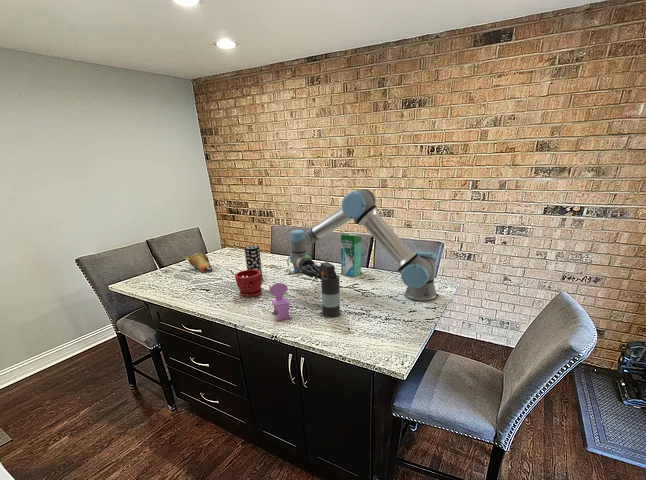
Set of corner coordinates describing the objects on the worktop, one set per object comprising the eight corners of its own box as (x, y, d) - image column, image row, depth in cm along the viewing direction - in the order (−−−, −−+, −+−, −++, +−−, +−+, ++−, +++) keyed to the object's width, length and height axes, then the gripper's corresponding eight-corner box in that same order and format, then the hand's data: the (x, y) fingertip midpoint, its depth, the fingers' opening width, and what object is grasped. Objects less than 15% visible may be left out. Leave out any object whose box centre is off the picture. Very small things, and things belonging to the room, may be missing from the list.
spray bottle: (317, 310, 159) (315, 263, 150) (332, 306, 162) (331, 260, 153) (327, 319, 150) (325, 269, 141) (343, 315, 154) (342, 266, 145)
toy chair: (275, 321, 149) (272, 289, 143) (270, 313, 156) (267, 283, 150) (293, 318, 152) (291, 286, 146) (287, 310, 159) (285, 280, 153)
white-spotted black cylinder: (245, 282, 197) (241, 248, 189) (253, 277, 204) (250, 245, 196) (257, 283, 194) (253, 249, 186) (265, 279, 201) (262, 246, 194)
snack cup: (313, 268, 220) (312, 253, 216) (311, 273, 210) (310, 257, 206) (289, 268, 221) (288, 253, 217) (286, 273, 211) (285, 257, 207)
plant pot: (254, 288, 188) (252, 267, 183) (267, 294, 179) (265, 272, 174) (233, 294, 179) (230, 273, 175) (246, 301, 171) (243, 278, 166)
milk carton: (361, 272, 210) (361, 232, 200) (354, 276, 203) (354, 235, 193) (348, 270, 214) (348, 231, 204) (341, 274, 207) (340, 233, 197)
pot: (195, 261, 206) (184, 247, 216) (190, 277, 210) (179, 263, 220) (221, 264, 219) (209, 251, 229) (216, 279, 223) (204, 265, 233)
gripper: (317, 269, 177) (337, 284, 158) (294, 273, 172) (311, 288, 153) (317, 256, 174) (337, 268, 155) (293, 259, 169) (311, 273, 150)
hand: (324, 278), depth 154 cm, fingers closed
